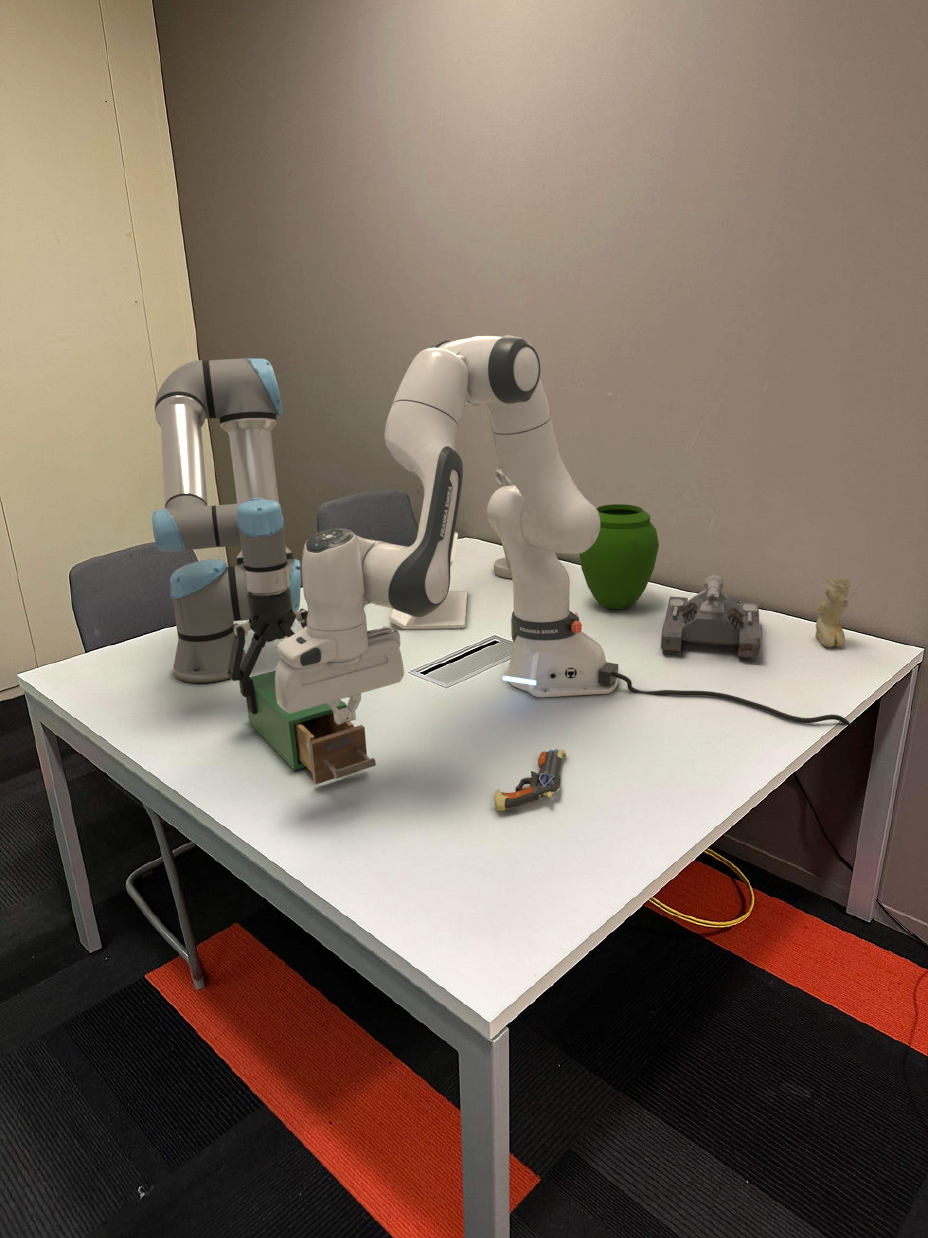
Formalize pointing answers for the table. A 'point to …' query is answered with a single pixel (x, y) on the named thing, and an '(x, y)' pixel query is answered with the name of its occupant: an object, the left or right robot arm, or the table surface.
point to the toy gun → (534, 782)
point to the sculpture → (832, 613)
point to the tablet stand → (437, 610)
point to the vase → (620, 556)
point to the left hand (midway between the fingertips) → (281, 702)
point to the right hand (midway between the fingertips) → (345, 721)
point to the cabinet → (280, 719)
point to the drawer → (331, 748)
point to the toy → (712, 621)
